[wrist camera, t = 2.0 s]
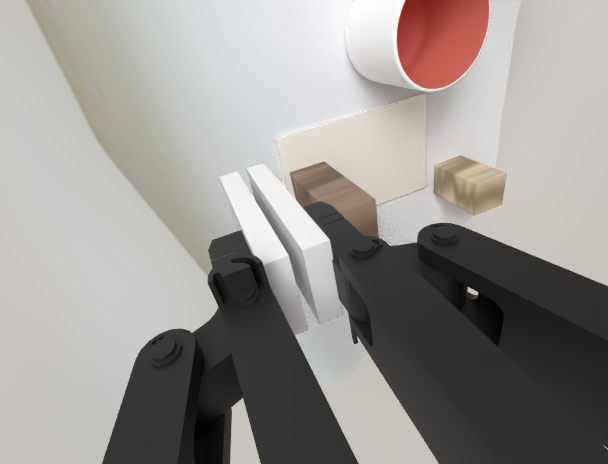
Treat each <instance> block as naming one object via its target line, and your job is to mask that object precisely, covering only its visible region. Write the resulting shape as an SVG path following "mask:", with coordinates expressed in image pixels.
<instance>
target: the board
mask: <svg viewBox="0 0 608 464" xmlns="http://www.w3.org/2000/svg"><path fill="white" fill-rule="evenodd" d="M426 115H427V93H423V94H420V95H417V96H413V97H410V98H407V99H404V100H400V101H397V102H394V103H390V104H387V105H384V106H381V107H377V108H374V109H371V110H367V111H364V112H361V113H358V114H354V115H351V116H348V117H344V118H341V119H338V120H335V121H331V122H328V123H325V124H321V125H318V126H315V127H311V128H308V129H305V130H302V131H298V132H295V133H292V134H288V135H285V136H282V137H279V138H275V144H276V148H277V152H278V156H279V160H280V165H281V169H282V173H283V177H284V181H285V185H286V189H287V190H288V192H289V193H290V194H291V195H292V196H293V197H294V199H295V195H294V190H293V186H292V181H291V177H290V173H289V172H292V171H295V170H298V169H301V168H304V167H307V166H310V165H313V164H316V163H319V162H322V161H324V162H326V163H327V164H328V165H330V166H331V167H332V168H334V169H335V170H337V171H338V172H339V173H341V174H342V175H343V176H345V177H346V178H347V179H349V180H350V181H351V182H353V183H354V184H356V185H357V186H358V187H360V188H361V189H362V190H364V191H365V192H366V193H368V194H369V195H370V196H372V197H373V198H375V199H376V205H379V204H382V203H384V202H387V201H390V200H392V199H395V198H398V197H401V196H403V195H406V194H409V193H411V192H414V191H417V190H419V189H422V188H425V187H426ZM295 200H296V199H295Z"/></svg>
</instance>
